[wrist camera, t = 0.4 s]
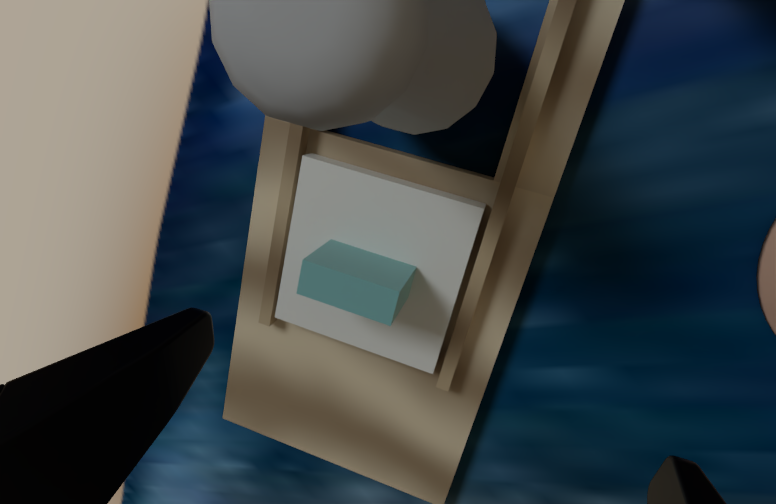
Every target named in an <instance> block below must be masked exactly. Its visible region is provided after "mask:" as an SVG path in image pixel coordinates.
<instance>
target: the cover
mask: <svg viewBox="0 0 776 504" xmlns="http://www.w3.org/2000/svg"><path fill="white" fill-rule="evenodd" d="M485 206H486V204H485V203H482V202H478V201H475V200H471V199H468V198H464V197H461V196H458V195H454V194H451V193H447V192H444V191H440V190H437V189H434V188H430V187H427V186H423V185H420V184H416V183H413V182H410V181H406V180H403V179H399V178H396V177H392V176H389V175H386V174H382V173H379V172H375V171H372V170H368V169H365V168H362V167H358V166H355V165H351V164H348V163H344V162H341V161H338V160H334V159H331V158H327V157H324V156H320V155H317V154H314V153H310V154H306V155H302V161H301V166H300V172H299V178H298V184H297V190H296V196H295V201H294V207H293V213H292V219H291V225H290V231H289V236H288V242H287V248H286V254H285V260H284V266H283V271H282V277H281V283H280V289H279V295H278V301H277V306H276V312H275V318H278V319H280V320H283V321H286V322H289V323H292V324H294V325H297V326H300V327H303V328H305V329H308V330H311V331H314V332H317V333H319V334H322V335H325V336H328V337H331V338H333V339H336V340H339V341H342V342H344V343H347V344H350V345H353V346H356V347H358V348H361V349H364V350H367V351H369V352H372V353H375V354H378V355H381V356H383V357H386V358H389V359H392V360H395V361H397V362H400V363H403V364H406V365H408V366H411V367H414V368H417V369H420V370H422V371H425V372H428V373H431V374H433V372H434V369H435V366H436V364H437V361H438V357H439V354H440V351H441V348H442V344H443V341H444V338H445V335H446V332H447V328H448V325H449V322H450V319H451V316H452V312H453V309H454V306H455V303H456V299H457V296H458V293H459V290H460V287H461V283H462V280H463V277H464V274H465V271H466V267H467V264H468V261H469V258H470V255H471V251H472V248H473V245H474V242H475V238H476V235H477V232H478V229H479V226H480V222H481V219H482V216H483V213H484V210H485Z"/></svg>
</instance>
